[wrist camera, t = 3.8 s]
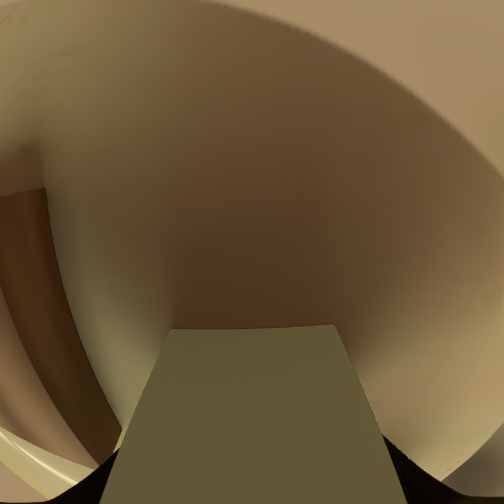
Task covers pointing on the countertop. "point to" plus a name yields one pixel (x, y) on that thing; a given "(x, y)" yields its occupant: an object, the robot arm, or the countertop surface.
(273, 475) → the sage block
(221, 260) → the countertop surface
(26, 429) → the walnut block
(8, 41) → the countertop surface
